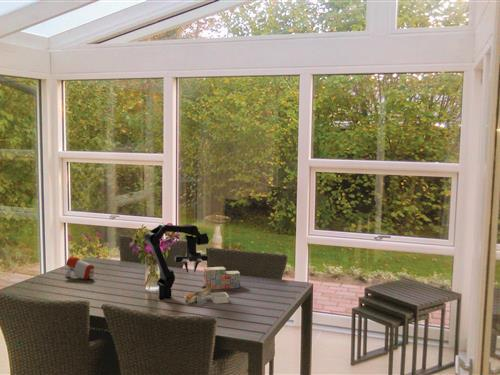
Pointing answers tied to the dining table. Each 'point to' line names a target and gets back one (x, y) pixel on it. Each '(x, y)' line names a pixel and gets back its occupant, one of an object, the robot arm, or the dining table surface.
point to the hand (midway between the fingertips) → (191, 272)
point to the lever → (198, 294)
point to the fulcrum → (199, 301)
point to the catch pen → (220, 297)
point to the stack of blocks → (221, 278)
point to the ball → (189, 296)
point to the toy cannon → (79, 268)
